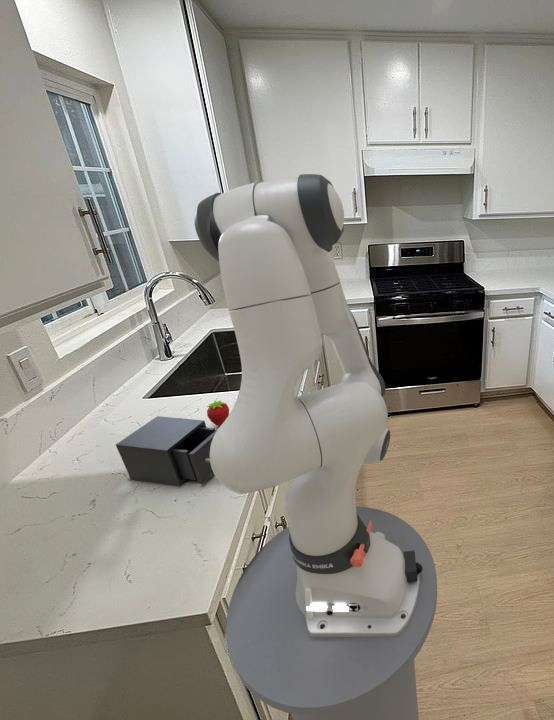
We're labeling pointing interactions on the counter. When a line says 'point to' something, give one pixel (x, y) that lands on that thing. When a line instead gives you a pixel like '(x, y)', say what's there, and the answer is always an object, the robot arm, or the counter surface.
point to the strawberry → (218, 412)
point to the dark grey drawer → (195, 455)
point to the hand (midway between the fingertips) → (263, 433)
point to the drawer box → (156, 449)
